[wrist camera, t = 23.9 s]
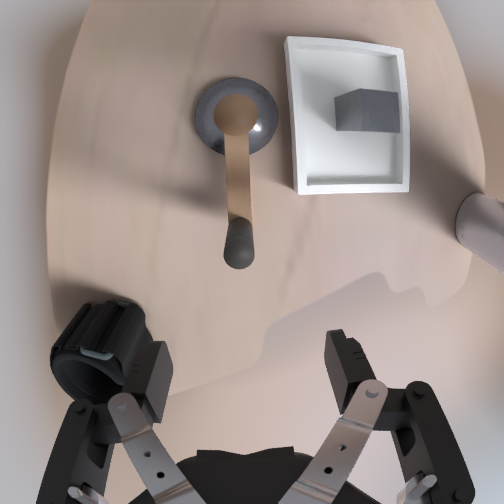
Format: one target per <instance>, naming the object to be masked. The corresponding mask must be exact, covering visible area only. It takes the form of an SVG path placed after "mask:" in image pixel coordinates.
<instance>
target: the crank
mask: <svg viewBox="0 0 504 504" xmlns="http://www.w3.org/2000/svg"><path fill="white" fill-rule="evenodd" d="M213 117H214V122H215V124H216V126H217V127H218V129H219V130H220V131H222V132H223V133H224V140H225V164H226V184H227V204H228V222H229V226H228V231H227V236H226V242H225V248H224V260H225V262H226V263H227V264H228V265H229V266H230V267H232V268H235V269H244V268H246V267H248V266H249V265H250V264H251V263H252V262H253V260H254V242H253V230H252V225H251V198H250V166H249V134H248V132H250V131H251V130H252V129H253V128H254V126H255V125H256V122H257V119H258V110H257V107H256V105H255V103H254V102H253V101H252V100H251V99H250V98H248V97H247V96H244V95H241V94H231V95H228V96H226V97H224V98H222V99H221V100H220V101H219V102H218V103H217V105H216V107H215V109H214V114H213Z"/></svg>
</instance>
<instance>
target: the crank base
mask: <svg viewBox="0 0 504 504" xmlns="http://www.w3.org/2000/svg"><path fill="white" fill-rule="evenodd" d="M231 94H241V95H244V96H247V97H248V98H250V99H251V100H252V101H253V102H254V103H255V105H256V107H257V110H258V119H257V122H256V125H255V126H254V128H253V129H252V130H251V131H250V132H248V134H249V154H252V153H254V152H256V151H258V150H260V149H261V148H263V147H264V146H265V145H266V144H267V143H268V142H269V141H270V140H271V138H272V136H273V135H274V133H275V130H276V128H277V123H278V110H277V106H276V103H275V101H274V99H273V97H272V96H271V94H270V93H269V92H268V91H267V90H266V89H265V88H264V87H263V86H261V85H260V84H258V83H256V82H254V81H251V80H248V79H242V78H232V79H227V80H223V81H221V82H218V83H216V84H215V85H213V86H212V87H210V88H209V89H208V90H207V91H206V92H205V93H204V94H203V96H202V97H201V99H200V101H199V103H198V105H197V109H196V114H195V122H196V127H197V131H198V133H199V135H200V137H201V138H202V140H203V141H204V142H205V144H206V145H207V146H209V147H210V148H211V149H213V150H214V151H216V152H218V153H220V154H223V155H225V140H224V133H223V132H222V131H220V130H219V129H218V127H217V126H216V124H215V122H214V117H213V114H214V109H215V107H216V105H217V103H218V102H219V101H220V100H221V99H222V98H224V97H226V96H228V95H231ZM251 225H252V215H251ZM252 230H253V228H252Z"/></svg>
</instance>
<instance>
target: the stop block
mask: <svg viewBox="0 0 504 504" xmlns="http://www.w3.org/2000/svg"><path fill="white" fill-rule="evenodd" d="M334 103H335V118H336V131H360V132H385V133H400V112H399V97H398V93H397V92H390V91H382V90H372V89H362V88H360V89H357V90H354V91H351V92H348V93H345V94H343V95H340V96H337V97H334Z"/></svg>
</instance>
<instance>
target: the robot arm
mask: <svg viewBox="0 0 504 504" xmlns="http://www.w3.org/2000/svg"><path fill="white" fill-rule="evenodd" d="M455 228H456V235H457V239H458V241H459V242H460V244H461V245H462V246H464V247H465V248H467V249H468V250H470V251H471V252H473V253H474V254H476V255H477V256H478V257H480V258H481V259H483V260H484V261H485V262H487V263H488V264H489V265H491V266H492V267H494V268H495V269H496V270H498V271H499V272H500V273H502V274H503V275H504V203H503V202H501V201H499V200H497V199H494V198H492V197H489V196H487V195H484V194H482V193H473V194H471V195H470V196H468V197H467V198H466V199H465V200H464V202H463V203H462V205H461V207H460V209H459V211H458V214H457V219H456V227H455ZM324 358H325V365H326V368H327V372H328V375H329V378H330V381H331V385H332V388H333V391H334V395H335V398H336V402H337V405H338V408H339V412H340V415H341V414H343V416H342V417H341V418H339V419H338V420H337V422H336V423H335V425H334V427H333V428H332V430H331V432H330V433H329V435H328V437H327V438H326V440H325V441H324V443H323V444H322V446H321V447H320V449H319V450H318V452H317V454H316V455H315V456H314V457H312V456H310V455H307V454H303V453H298V452H294V448H293V446H292V447H282V448H272V449H266V450H263V451H259V452H255V453H251V454H247V455H240V454H236V453H231V452H226V451H221V450H197V456H193V457H190V458H187V459H184V460H182V461H180V462H178V463H177V464H175V463H174V461H173V460H172V458H171V457H170V455H169V454H168V452H167V451H166V449H165V448H164V446H163V445H162V443H161V442H160V440H159V439H158V437H157V436H156V434H155V432H154V431H153V429H152V427H153V423H161V421H162V417H163V412H164V408H165V404H166V399H167V395H168V391H169V387H170V383H171V379H172V375H173V364H172V360H171V357H170V354H169V351H168V348H167V345H166V342H165V341H150V342H149V344H148V346H147V349H146V351H140V352H139V353H138V354H137V355H136V356H135V358H134V360H133V363H132V366H131V368H130V370H129V371H130V372H129V373H128V375H127V378H126V380H125V383H124V385H123V388H122V391H121V393H119V394H116V395H114V396H113V397H112V398H111V399H110V400H109V402H108V403H105V404H99V405H92V403H91V402H90V401H89V400H87V399H77V400H75V401H74V402H72V404H70V406H69V408H68V410H67V413H66V415H65V418H64V420H63V423H62V425H61V428H60V430H59V433H58V436H57V438H56V441H55V444H54V447H53V449H52V452H51V455H50V458H49V461H48V464H47V467H46V471H45V473H44V477H43V480H42V483H41V487H40V490H39V494H38V497H37V501H36V504H109V503H108V501H107V500H106V499H105V498H104V492H105V486H106V481H107V476H108V471H109V467H110V462H111V458H112V454H113V449H114V445H115V443H122V444H123V446H124V448H125V450H126V452H127V453H128V455H129V457H130V459H131V461H132V463H133V465H134V467H135V468H136V470H137V472H138V474H139V475H140V477H141V479H142V481H143V482H144V484H145V486H146V487H147V489H146V490H145V491H144V492H142V493H141V494H140V495H139V496H137V497H136V498H135V499H134V500H132V501H131V502H130V503H129V504H381V503H379V502H378V501H376V500H375V499H373V498H372V497H370V496H369V495H367V494H366V493H364V492H363V491H361V490H360V489H358V488H357V487H355V486H354V485H352V484H351V483H349V482H348V481H347V478H348V476H349V474H350V473H351V471H352V469H353V467H354V466H355V464H356V462H357V460H358V458H359V456H360V454H361V452H362V450H363V448H364V446H365V444H366V442H367V440H368V438H369V436H370V434H371V432H372V430H378V431H391V434H392V438H393V441H394V444H395V448H396V451H397V454H398V458H399V461H400V464H401V468H402V472H403V476H404V479H405V483H406V484H405V485H404V486H403V487H402V488H401V489H400V491H399V492H398V494H397V504H471V503H472V502H473V500H474V497H475V488H474V485H473V482H472V480H471V477H470V474H469V471H468V469H467V466H466V463H465V461H464V458H463V456H462V453H461V451H460V449H459V446H458V444H457V441H456V439H455V437H454V434H453V432H452V430H451V427H450V425H449V423H448V421H447V419H446V416H445V414H444V412H443V410H442V408H441V406H440V404H439V402H438V400H437V398H436V396H435V393H434V392H433V390H432V388H431V386H429V384H427V383H425V382H422V381H414V382H411V383H410V384H408V386H407V387H406V389H392V388H387V387H386V386H385V384H384V383H382V382H380V381H378V380H377V379H376V377H375V375H374V372H373V371H372V368H371V366H370V364H369V362H368V360H367V358H366V355H365V353H364V352H363V349H362V347H361V345H360V343H358V342H357V341H356V340H355V339H354V338H346V336H345V334H344V332H343V330H342V329H338V330H331V331H327V334H326V343H325V352H324Z"/></svg>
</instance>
